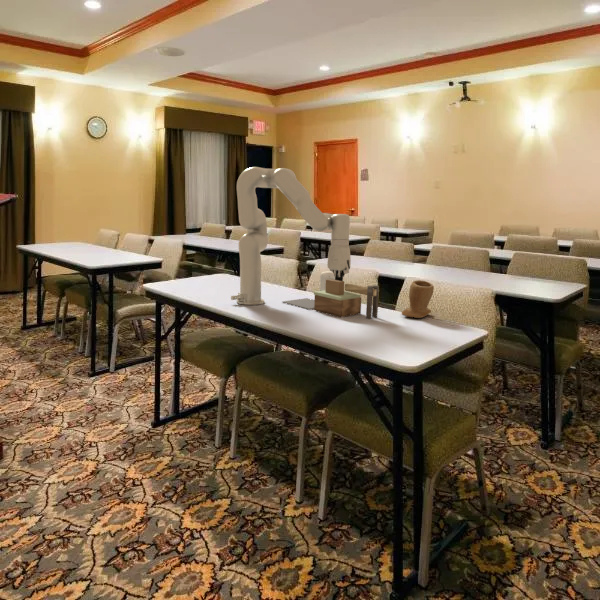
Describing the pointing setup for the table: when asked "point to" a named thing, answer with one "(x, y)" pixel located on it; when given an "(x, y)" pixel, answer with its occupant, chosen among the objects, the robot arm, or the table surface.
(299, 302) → the mat
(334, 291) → the lid
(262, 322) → the table surface
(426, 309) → the stone cup
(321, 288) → the photo printer
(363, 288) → the tan wooden bar
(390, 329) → the table surface
